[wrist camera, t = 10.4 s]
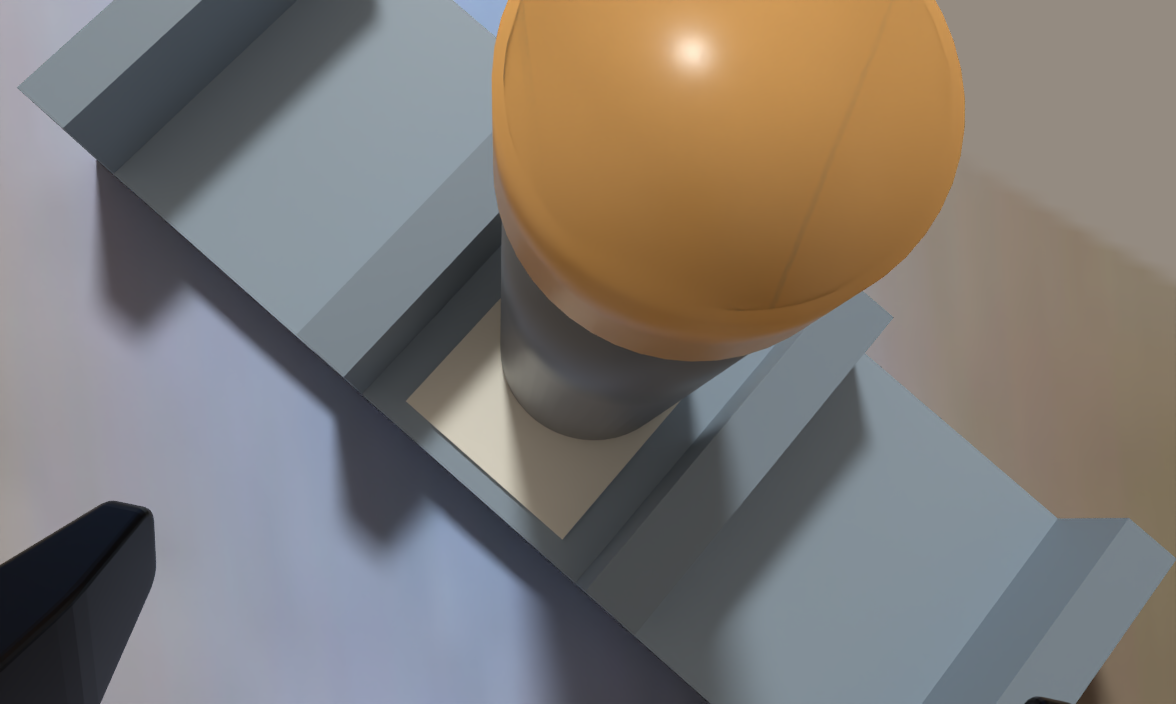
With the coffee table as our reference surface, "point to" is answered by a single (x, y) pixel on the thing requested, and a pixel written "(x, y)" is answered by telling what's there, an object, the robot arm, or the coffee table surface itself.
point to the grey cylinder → (703, 184)
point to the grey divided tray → (593, 467)
